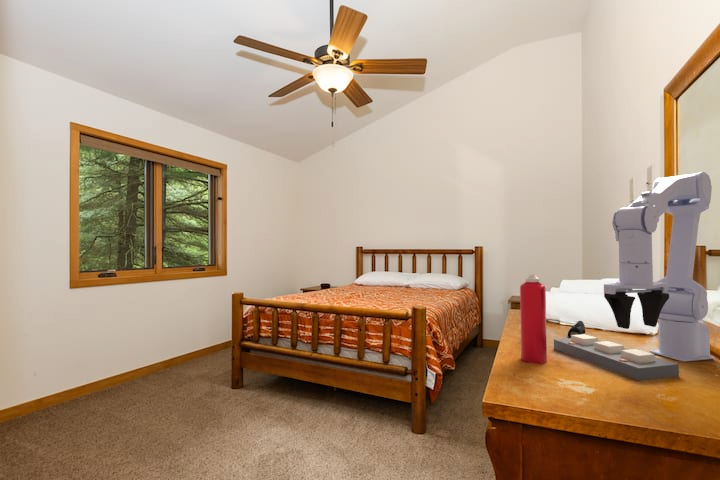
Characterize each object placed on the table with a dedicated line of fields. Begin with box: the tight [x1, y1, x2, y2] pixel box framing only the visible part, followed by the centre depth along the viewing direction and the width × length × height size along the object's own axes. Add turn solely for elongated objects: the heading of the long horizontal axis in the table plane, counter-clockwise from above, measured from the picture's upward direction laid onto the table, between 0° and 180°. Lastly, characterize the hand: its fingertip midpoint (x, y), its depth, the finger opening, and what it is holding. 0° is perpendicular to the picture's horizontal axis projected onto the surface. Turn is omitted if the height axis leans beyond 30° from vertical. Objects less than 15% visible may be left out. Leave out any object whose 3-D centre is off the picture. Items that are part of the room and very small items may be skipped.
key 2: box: [621, 348, 656, 364], centre depth 78 cm, size 4×4×3 cm
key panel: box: [553, 337, 680, 382], centre depth 85 cm, size 10×23×3 cm, turn 12°
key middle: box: [594, 340, 625, 354], centre depth 85 cm, size 4×4×3 cm
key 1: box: [571, 333, 599, 346], centre depth 92 cm, size 4×4×3 cm
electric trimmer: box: [567, 320, 586, 338], centre depth 112 cm, size 4×16×3 cm, turn 143°
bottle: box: [519, 274, 548, 365], centre depth 86 cm, size 6×5×20 cm
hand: (636, 326), depth 78 cm, fingers open, 6 cm apart
